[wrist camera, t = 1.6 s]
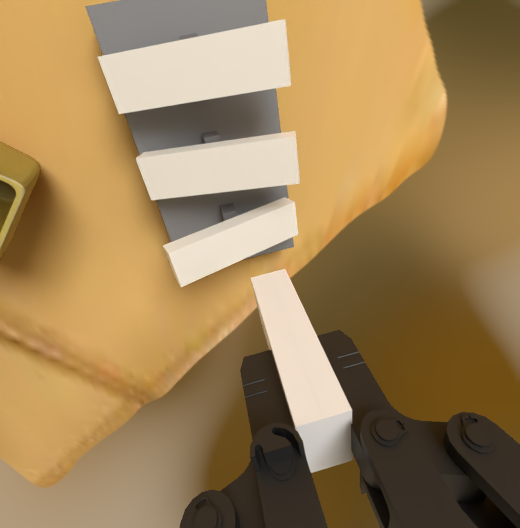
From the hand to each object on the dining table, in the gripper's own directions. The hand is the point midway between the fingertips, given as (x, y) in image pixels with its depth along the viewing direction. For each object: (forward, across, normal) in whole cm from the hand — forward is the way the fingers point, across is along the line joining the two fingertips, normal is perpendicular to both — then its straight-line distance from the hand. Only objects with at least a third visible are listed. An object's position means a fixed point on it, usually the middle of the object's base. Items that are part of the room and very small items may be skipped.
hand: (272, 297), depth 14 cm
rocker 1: (+14, 0, +8) cm, 17 cm away
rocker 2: (+14, -1, +2) cm, 14 cm away
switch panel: (+22, -1, +2) cm, 22 cm away
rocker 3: (+14, -1, -5) cm, 15 cm away
